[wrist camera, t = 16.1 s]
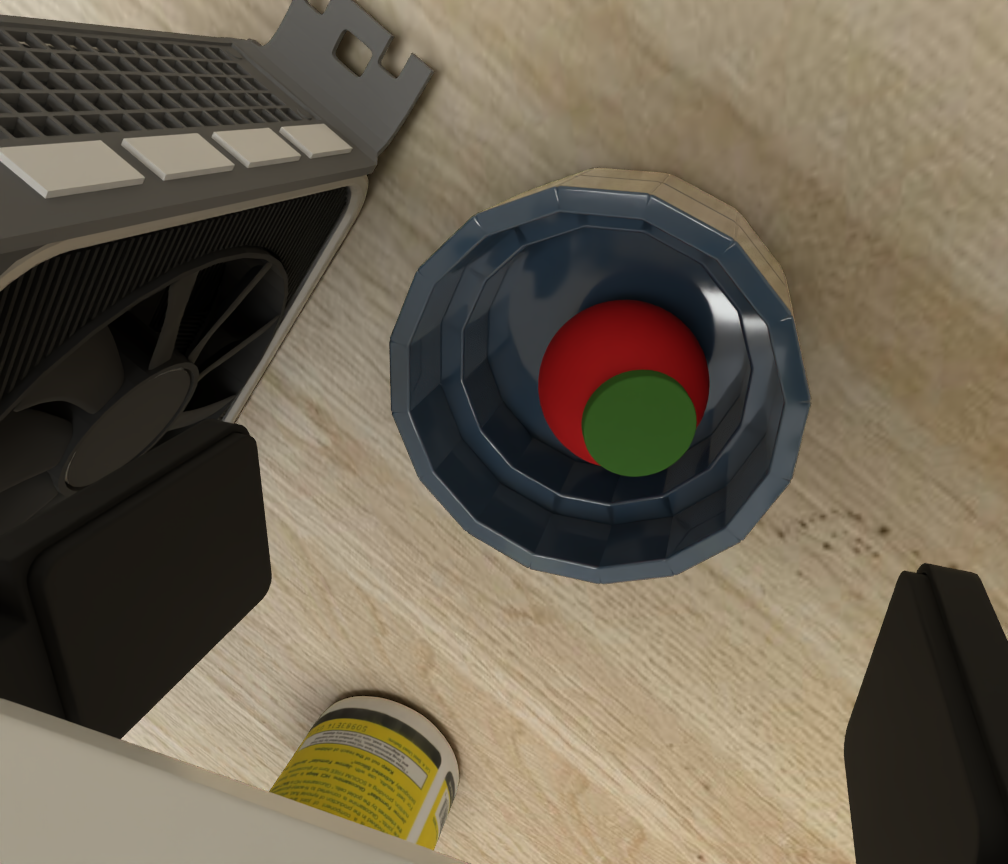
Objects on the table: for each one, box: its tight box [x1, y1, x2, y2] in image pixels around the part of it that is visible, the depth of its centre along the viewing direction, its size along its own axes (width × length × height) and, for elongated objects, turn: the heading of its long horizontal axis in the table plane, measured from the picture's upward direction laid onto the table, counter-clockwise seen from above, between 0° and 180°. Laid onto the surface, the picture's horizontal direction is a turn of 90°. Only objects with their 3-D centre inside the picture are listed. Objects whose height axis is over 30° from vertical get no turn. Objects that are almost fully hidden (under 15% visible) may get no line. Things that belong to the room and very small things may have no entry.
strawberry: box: [538, 300, 710, 477], centre depth 17 cm, size 4×4×4 cm
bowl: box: [389, 167, 811, 584], centre depth 18 cm, size 9×9×4 cm
